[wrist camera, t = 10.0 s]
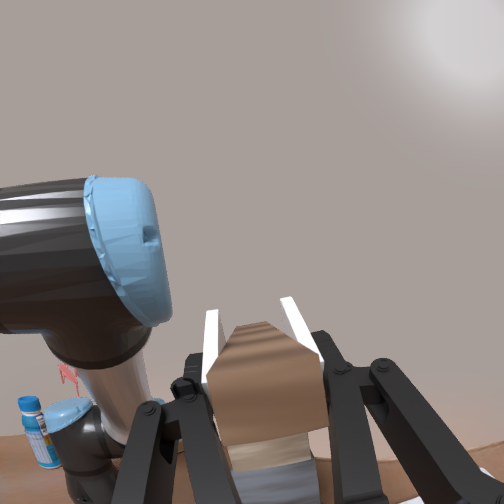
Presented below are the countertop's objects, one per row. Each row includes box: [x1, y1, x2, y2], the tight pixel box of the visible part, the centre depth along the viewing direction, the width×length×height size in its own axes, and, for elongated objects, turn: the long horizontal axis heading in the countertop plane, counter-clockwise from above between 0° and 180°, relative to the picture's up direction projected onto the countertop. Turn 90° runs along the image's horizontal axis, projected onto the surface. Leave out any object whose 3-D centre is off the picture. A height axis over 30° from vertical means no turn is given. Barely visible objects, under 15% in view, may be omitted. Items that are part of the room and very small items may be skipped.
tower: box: [227, 432, 321, 504], centre depth 38 cm, size 19×12×28 cm, turn 1°
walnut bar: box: [206, 322, 329, 447], centre depth 22 cm, size 28×4×3 cm, turn 1°
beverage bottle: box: [18, 396, 62, 469], centre depth 41 cm, size 8×8×20 cm
